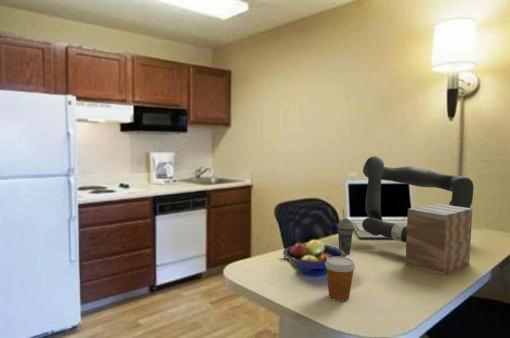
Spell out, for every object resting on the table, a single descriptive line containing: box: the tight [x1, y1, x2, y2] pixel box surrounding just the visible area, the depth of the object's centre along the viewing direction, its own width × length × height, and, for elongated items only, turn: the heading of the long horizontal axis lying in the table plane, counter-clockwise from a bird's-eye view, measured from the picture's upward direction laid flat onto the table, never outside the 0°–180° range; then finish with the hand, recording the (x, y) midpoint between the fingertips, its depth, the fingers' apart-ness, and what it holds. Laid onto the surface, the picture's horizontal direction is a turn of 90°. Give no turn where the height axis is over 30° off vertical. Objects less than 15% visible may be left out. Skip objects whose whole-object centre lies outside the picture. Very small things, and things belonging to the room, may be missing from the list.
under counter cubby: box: [405, 202, 473, 276], centre depth 151 cm, size 23×15×23 cm, turn 128°
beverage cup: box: [336, 208, 355, 256], centre depth 164 cm, size 7×7×20 cm
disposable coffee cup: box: [325, 256, 356, 302], centre depth 119 cm, size 10×10×12 cm
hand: (442, 242), depth 150 cm, fingers open, 8 cm apart
